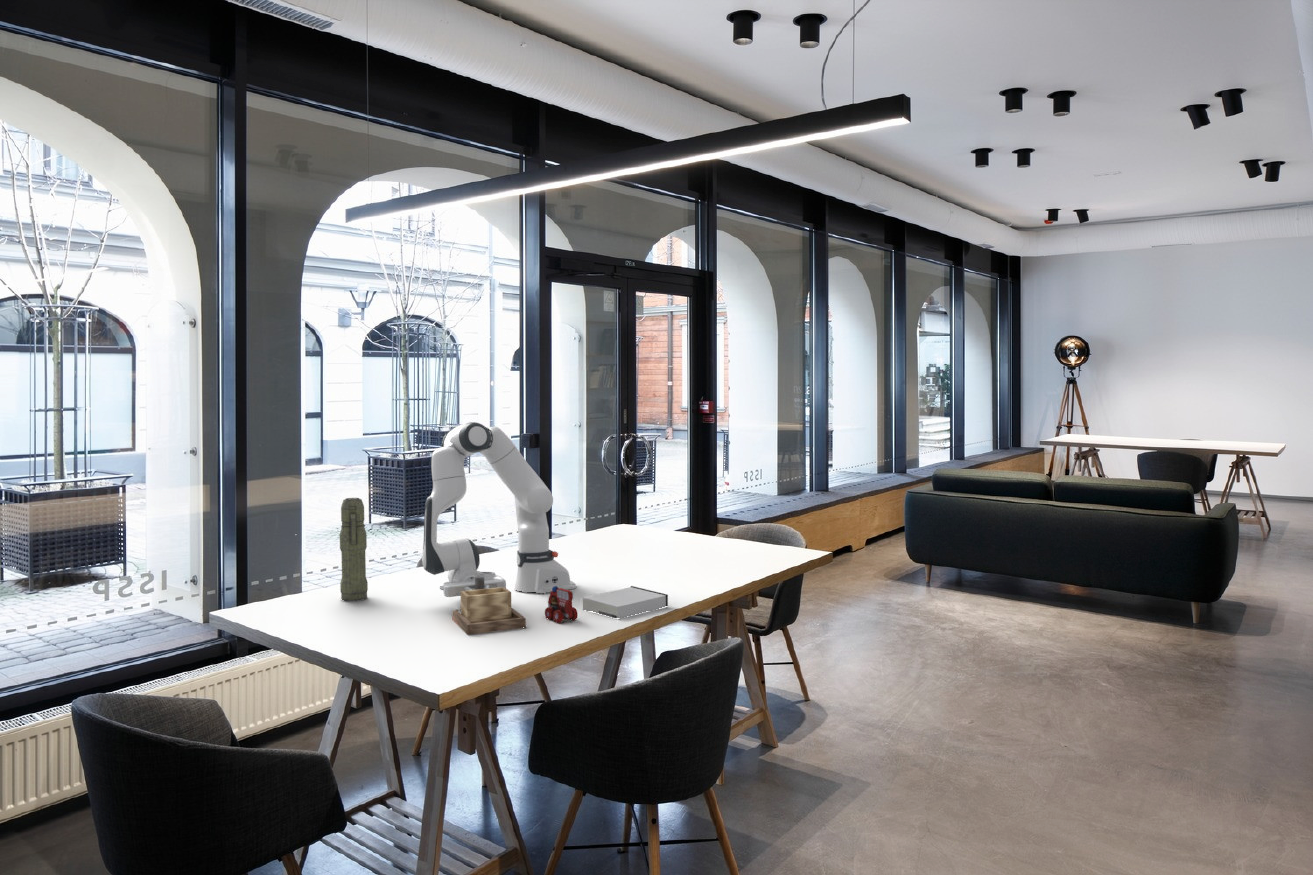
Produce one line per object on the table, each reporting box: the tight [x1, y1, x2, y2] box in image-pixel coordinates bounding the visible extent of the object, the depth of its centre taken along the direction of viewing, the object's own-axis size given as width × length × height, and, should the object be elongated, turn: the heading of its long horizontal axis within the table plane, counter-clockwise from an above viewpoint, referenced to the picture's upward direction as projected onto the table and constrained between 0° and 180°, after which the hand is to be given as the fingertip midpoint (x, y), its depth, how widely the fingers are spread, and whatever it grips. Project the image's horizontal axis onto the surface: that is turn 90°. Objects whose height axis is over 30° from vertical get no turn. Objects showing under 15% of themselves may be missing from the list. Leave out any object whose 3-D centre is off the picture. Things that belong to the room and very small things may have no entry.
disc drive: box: [582, 585, 669, 619], centre depth 298 cm, size 18×22×5 cm
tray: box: [451, 606, 527, 636], centre depth 279 cm, size 18×19×3 cm
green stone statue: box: [339, 497, 369, 602], centre depth 312 cm, size 9×12×35 cm
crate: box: [460, 577, 512, 622], centre depth 284 cm, size 14×13×11 cm
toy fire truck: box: [544, 586, 579, 624], centre depth 284 cm, size 7×12×10 cm, turn 38°
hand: (480, 592), depth 287 cm, fingers closed on crate, 3 cm apart
